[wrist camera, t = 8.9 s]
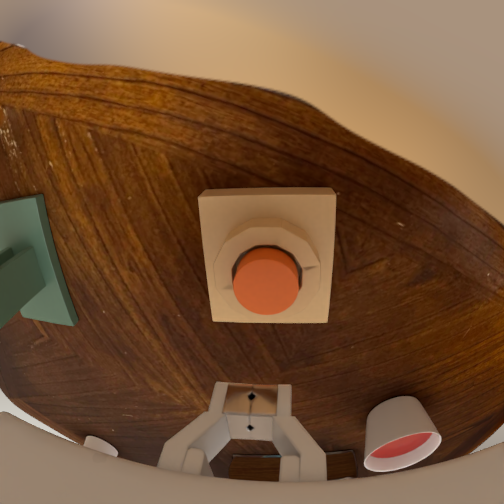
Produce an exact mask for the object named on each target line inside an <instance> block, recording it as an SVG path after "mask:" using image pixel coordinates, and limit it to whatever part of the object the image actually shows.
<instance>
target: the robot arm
mask: <svg viewBox="0 0 504 504" xmlns="http://www.w3.org/2000/svg"><path fill="white" fill-rule="evenodd" d="M230 438H232V439H253V440H268V441H272V442H273V444H274V445H275V447H276V448H277V450H278V452H279V453H280V455H281V456H282V458H281V462H280V474H279V482H270V481H250V480H237V479H226V478H217V477H214V476H213V473H212V470H211V468H210V465H209V462H210V461H211V460H212V459H213V458H214V457H215V456H216V455H217V453H218V452H219V451H220V450H221V449H222V448H223V447H224V446H225V445H226V444H227V443H228V442H229V441H230V440H231V439H230ZM0 504H504V442H502V443H499V444H497V445H494V446H491V447H489V448H486V449H483V450H480V451H478V452H475V453H472V454H469V455H466V456H462V457H459V458H456V459H452V460H449V461H445V462H442V463H438V464H434V465H430V466H426V467H421V468H417V469H412V470H407V471H402V472H397V473H391V474H385V475H379V476H372V477H364V478H355V479H345V480H332V481H327V469H326V454H325V452H324V451H323V450H322V449H321V448H320V447H319V445H318V444H317V443H316V442H315V441H314V439H313V438H312V437H311V436H310V435H309V433H308V432H307V431H306V430H305V428H304V427H303V426H302V425H301V424H300V422H299V421H298V420H297V419H296V417H295V416H291V385H276V384H240V383H226V382H216V384H215V387H214V391H213V395H212V398H211V402H210V406H209V410H208V412H203V413H202V414H201V415H200V416H199V417H197V418H196V419H195V420H194V421H192V422H191V423H190V424H189V425H187V426H186V427H185V428H183V429H182V430H181V431H180V432H178V433H177V434H176V435H174V436H173V437H172V438H171V439H169V440H168V441H167V442H165V444H164V447H163V450H162V453H161V456H160V459H159V461H158V464H157V467H153V466H149V465H145V464H141V463H137V462H133V461H129V460H126V459H122V458H119V457H115V456H112V455H109V454H105V453H102V452H99V451H96V450H93V449H90V448H87V447H85V446H82V445H79V444H76V443H74V442H71V441H68V440H66V439H64V438H61V437H58V436H56V435H54V434H52V433H49V432H47V431H45V430H43V429H40V428H38V427H36V426H34V425H32V424H29V423H27V422H26V421H24V420H21V419H19V418H17V417H16V416H14V415H12V414H10V413H8V412H0Z"/></svg>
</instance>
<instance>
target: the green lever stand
mask: <svg viewBox="0 0 504 504" xmlns="http://www.w3.org/2000/svg"><path fill="white" fill-rule="evenodd" d="M19 310H20V311H21V314H22V316H23V317H26V318H31V319H36V320H41V321H46V322H51V323H57V324H63V325H69V326H74V325H75V324H76V323H77V322H78V321H79V320H78V317H77V314H76V312H75V309H74V306H73V303H72V300H71V298H70V295H69V292H68V289H67V286H66V283H65V280H64V276H63V273H62V270H61V267H60V263H59V260H58V256H57V253H56V249H55V245H54V242H53V238H52V234H51V230H50V225H49V221H48V217H47V212H46V207H45V202H44V197H43V194H39V195H33V196H27V197H22V198H16V199H11V200H6V201H1V202H0V329H1V328H2V327H3V326H4V325H5V324H6V323H7V322H8V321H9V320H10V319H11V318H12V317H13V316H14V315H15V314H16V313H17V312H18V311H19Z"/></svg>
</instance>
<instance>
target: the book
mask: <svg viewBox="0 0 504 504" xmlns="http://www.w3.org/2000/svg"><path fill="white" fill-rule="evenodd" d="M325 454H326V469H327V481H332V480H345V479H355V478H357V476H358V468H357V462H356V457H355V453H354V451H353V450H347V451H339V452H327V453H325ZM233 458H234V459H233V461H232V463H231V465H230V467H229V479H237V480H250V481H270V482H279V474H280V462H281V458H282V456H281V455H233Z"/></svg>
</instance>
